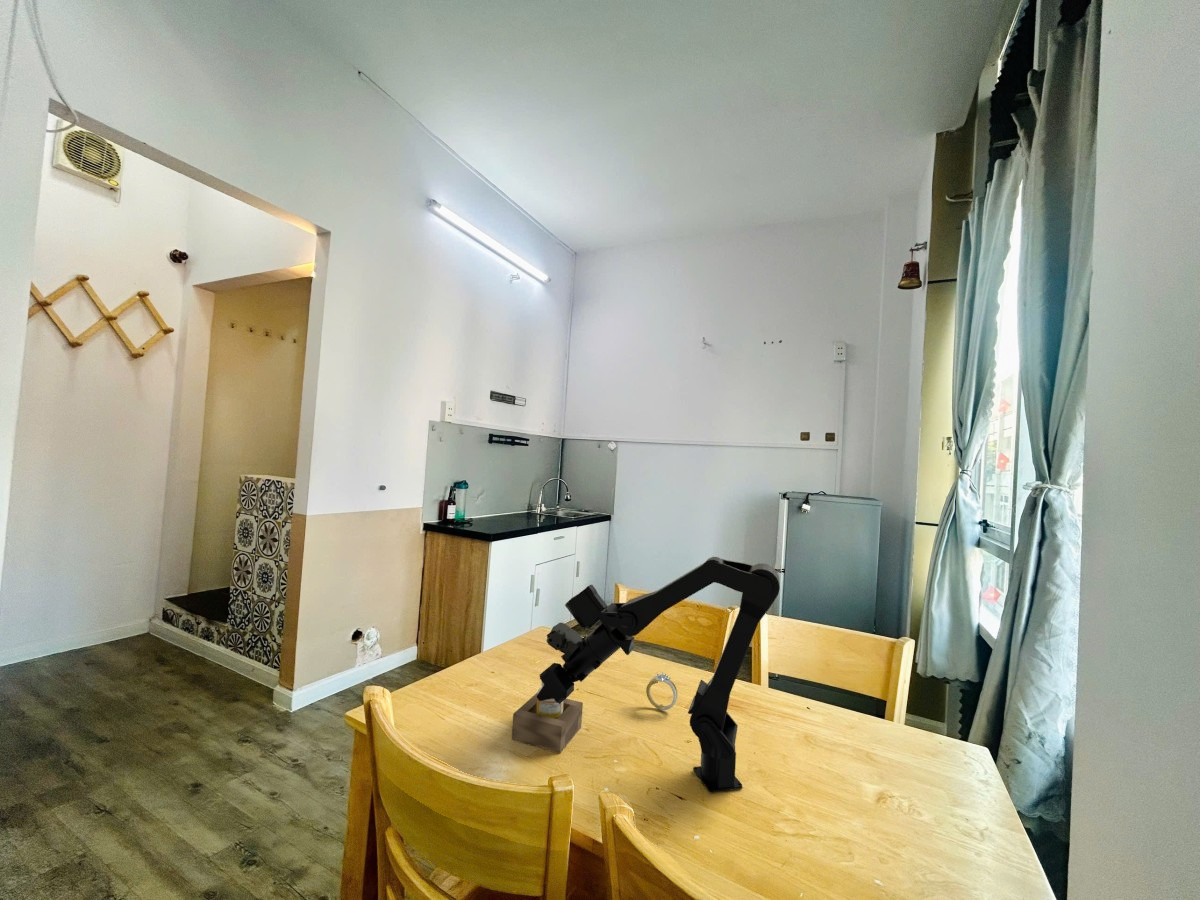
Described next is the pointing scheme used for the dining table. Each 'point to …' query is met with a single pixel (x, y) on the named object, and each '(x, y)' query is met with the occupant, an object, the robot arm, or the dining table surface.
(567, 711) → the walnut well block
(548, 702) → the supplement bottle
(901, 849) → the dining table surface
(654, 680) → the diamond engagement ring
